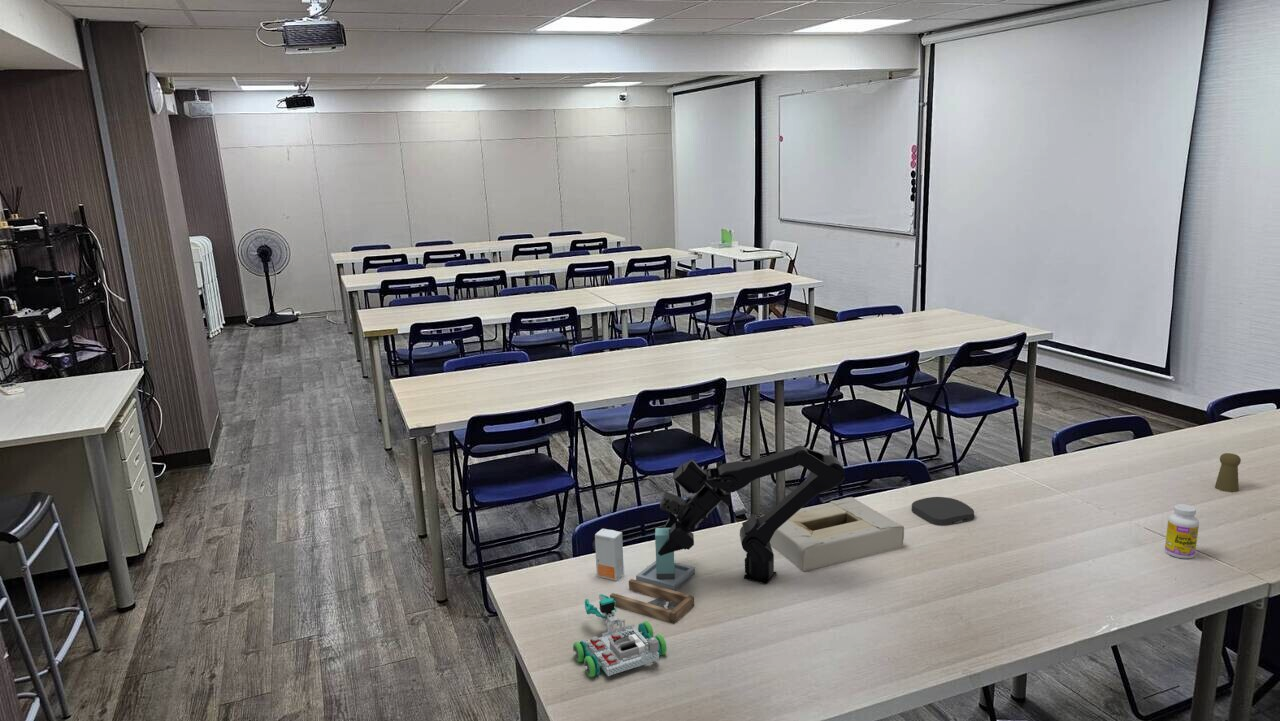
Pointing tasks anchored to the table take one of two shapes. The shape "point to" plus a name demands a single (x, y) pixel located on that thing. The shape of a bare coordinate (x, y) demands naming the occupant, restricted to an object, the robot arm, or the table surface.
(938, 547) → the table surface
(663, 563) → the tall teal block
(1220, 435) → the table surface
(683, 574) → the tray
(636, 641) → the robot kit
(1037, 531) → the table surface
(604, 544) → the skincare box
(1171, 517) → the supplement bottle
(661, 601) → the set of grey tiles
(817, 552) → the box
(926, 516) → the media streaming box
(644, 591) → the slot rail
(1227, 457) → the cork
